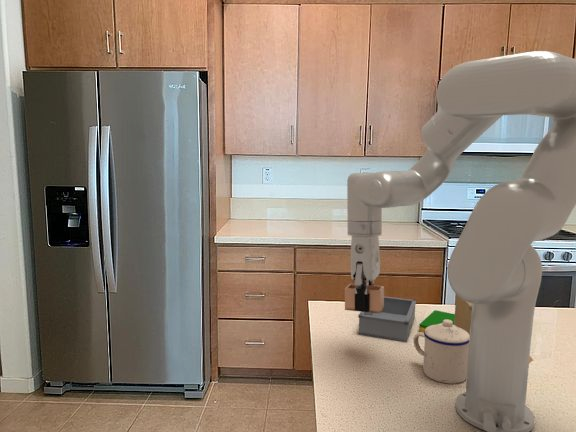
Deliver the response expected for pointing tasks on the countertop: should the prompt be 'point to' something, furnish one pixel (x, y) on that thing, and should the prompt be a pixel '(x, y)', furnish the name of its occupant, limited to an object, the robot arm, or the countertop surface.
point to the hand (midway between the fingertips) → (364, 307)
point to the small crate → (375, 298)
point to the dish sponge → (435, 319)
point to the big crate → (389, 320)
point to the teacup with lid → (444, 352)
